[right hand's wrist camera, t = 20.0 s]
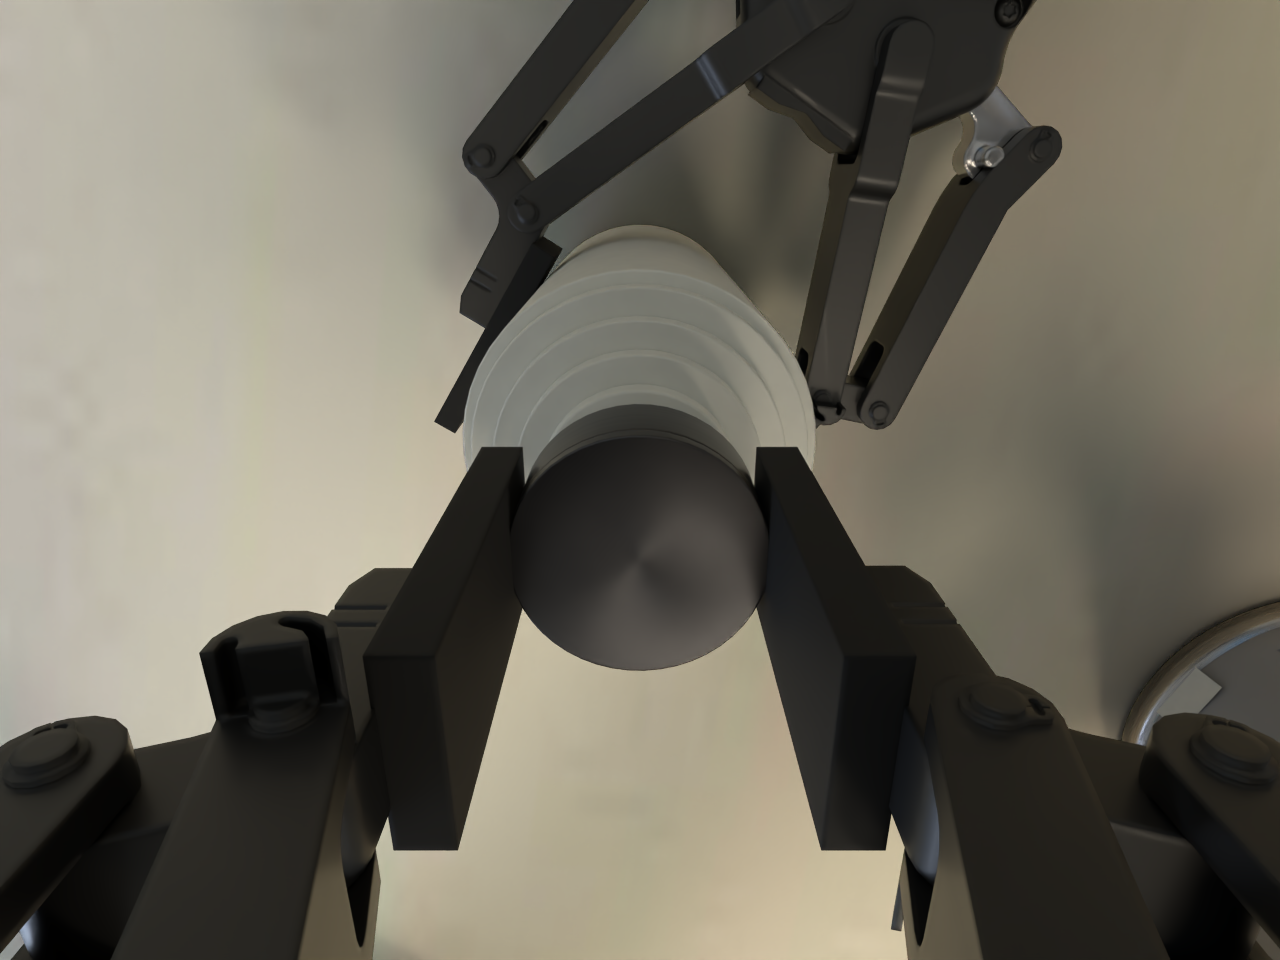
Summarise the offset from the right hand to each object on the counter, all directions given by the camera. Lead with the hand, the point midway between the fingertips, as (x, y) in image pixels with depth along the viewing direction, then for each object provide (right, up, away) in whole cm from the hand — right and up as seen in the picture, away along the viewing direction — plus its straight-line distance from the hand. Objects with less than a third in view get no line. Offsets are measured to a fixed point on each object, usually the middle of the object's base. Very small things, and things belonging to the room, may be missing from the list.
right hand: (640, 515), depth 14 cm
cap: (0, -1, -1) cm, 2 cm away
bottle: (0, +7, +17) cm, 18 cm away
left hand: (-2, +1, +12) cm, 13 cm away
